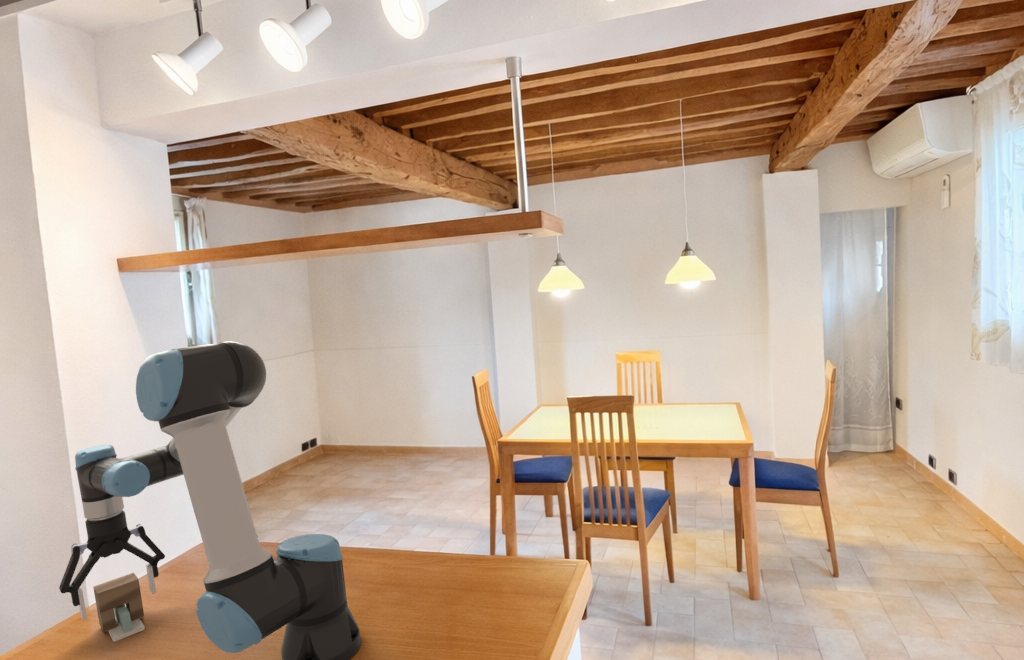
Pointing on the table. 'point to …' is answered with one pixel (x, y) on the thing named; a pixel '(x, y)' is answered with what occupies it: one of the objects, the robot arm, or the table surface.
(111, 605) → the brown notched block
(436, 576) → the table surface
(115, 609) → the inverted t-shaped bar
